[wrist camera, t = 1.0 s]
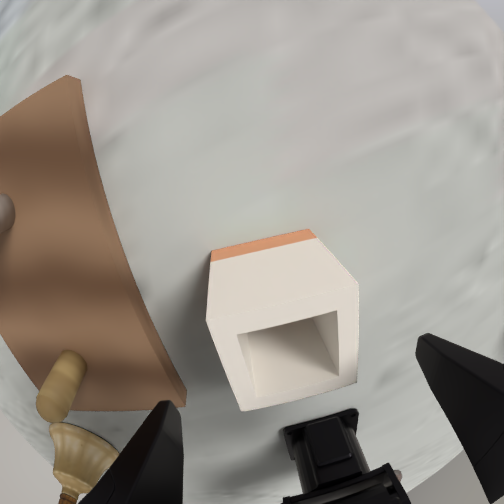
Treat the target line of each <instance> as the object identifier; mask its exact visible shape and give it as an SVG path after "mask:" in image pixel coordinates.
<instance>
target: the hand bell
mask: <svg viewBox="0 0 504 504" xmlns="http://www.w3.org/2000/svg"><path fill="white" fill-rule="evenodd" d="M49 432H50V435H51V438H52V439H53V442H54V446H55V462H54V468H53V475H54V476H55V478H56V479H57V480H58V481H59V482H60V483H61V484H62V494H60V500H59V504H76V502H77V500H78V496H79V494H81V493H89V492H90V491H91V489H92V488H93V487H94V486H95V485H96V484H97V482H98V480H99V478H100V476H101V475H102V474H103V472H104V471H105V470H106V469H108V468H109V467H110V466H111V465H112V464H113V462H114V461H115V460H116V458H117V457H118V456H119V453H118V452H117V450H116V449H115V448H114V447H112V446H111V445H110V444H109V443H108V442H106V441H105V440H103V439H102V438H100V437H98V436H97V435H95V434H93V433H91V432H89V431H87V430H85V429H82V428H80V427H78V426H74V425H71V424H67V423H61V422H59V423H52V424H51V425H50V427H49Z"/></svg>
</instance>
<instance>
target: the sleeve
mask: <svg viewBox="0 0 504 504" xmlns="http://www.w3.org/2000/svg"><path fill="white" fill-rule="evenodd" d="M206 322H207V325H208V328H209V330H210V333H211V336H212V339H213V341H214V344H215V347H216V349H217V352H218V355H219V357H220V360H221V362H222V365H223V367H224V370H225V373H226V375H227V378H228V380H229V383H230V385H231V388H232V390H233V392H234V395H235V397H236V400H237V402H238V404H239V407H240V409H241V412H243V411H249V410H254V409H260V408H265V407H269V406H274V405H279V404H283V403H287V402H291V401H296V400H300V399H303V398H307V397H311V396H315V395H318V394H322V393H325V392H329V391H332V390H335V389H339V388H342V387H345V386H348V385H351V384H354V383H357V369H358V344H359V287H358V283H357V281H356V280H355V279H354V278H353V277H352V276H351V275H350V273H349V272H348V271H347V270H346V269H345V268H344V267H343V266H342V264H341V263H340V262H339V261H338V260H337V259H336V258H335V257H334V256H333V254H332V253H331V252H330V251H329V250H328V249H327V248H326V247H325V246H324V245H323V244H322V242H321V241H320V240H319V239H318V238H317V237H316V236H315V235H314V234H313V233H312V232H311V231H310V230H309V229H306V230H301V231H297V232H292V233H288V234H283V235H279V236H274V237H270V238H266V239H261V240H257V241H252V242H248V243H244V244H239V245H235V246H230V247H226V248H222V249H217V250H213V251H212V252H211V262H210V274H209V286H208V298H207V312H206Z"/></svg>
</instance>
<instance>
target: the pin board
mask: <svg viewBox="0 0 504 504" xmlns="http://www.w3.org/2000/svg"><path fill="white" fill-rule="evenodd" d="M0 334H1V336H2V337H3V339H4V341H5V342H6V344H7V346H8V347H9V349H10V350H11V352H12V354H13V355H14V357H15V358H16V360H17V361H18V363H19V364H20V365H21V367H22V368H23V370H24V371H25V373H26V374H27V375H28V377H29V378H30V379H31V381H32V382H33V383H34V385H35V386H36V387H37V389H38V390H39V393H38V395H37V397H36V399H37V400H36V408H37V411H38V413H39V414H40V416H41V417H42V418H43V419H44V420H46V421H47V422H50V423H59V422H61V421H63V420H64V419H65V418H66V417H67V415H68V412H69V410H76V411H135V410H153V409H154V407H155V406H156V405H157V403H158V402H159V401H161V400H171V401H172V402H173V404H174V405H175V407H176V408H178V407H185V405H186V394H187V390H186V388H185V386H184V384H183V383H182V381H181V379H180V377H179V375H178V373H177V371H176V369H175V368H174V366H173V364H172V362H171V360H170V358H169V356H168V354H167V352H166V350H165V348H164V346H163V344H162V341H161V339H160V337H159V335H158V333H157V331H156V329H155V327H154V324H153V322H152V320H151V318H150V315H149V313H148V311H147V309H146V306H145V304H144V302H143V299H142V297H141V294H140V292H139V290H138V287H137V285H136V282H135V280H134V277H133V275H132V272H131V269H130V267H129V264H128V262H127V259H126V256H125V253H124V251H123V248H122V245H121V242H120V239H119V236H118V233H117V231H116V228H115V224H114V221H113V218H112V215H111V212H110V209H109V205H108V202H107V199H106V195H105V192H104V188H103V185H102V181H101V178H100V174H99V170H98V166H97V162H96V158H95V154H94V150H93V145H92V141H91V136H90V132H89V127H88V122H87V117H86V111H85V106H84V100H83V94H82V87H81V80H80V79H77V78H74V77H71V76H69V75H65V76H63V77H62V78H60V79H58V80H56V81H54V82H53V83H51V84H49V85H47V86H46V87H44V88H42V89H41V90H39V91H37V92H36V93H34V94H33V95H31V96H29V97H28V98H26V99H25V100H23V101H22V102H20V103H19V104H17V105H16V106H14V107H13V108H12V109H10V110H9V111H7V112H6V113H5V114H3V115H2V116H1V117H0Z"/></svg>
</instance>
